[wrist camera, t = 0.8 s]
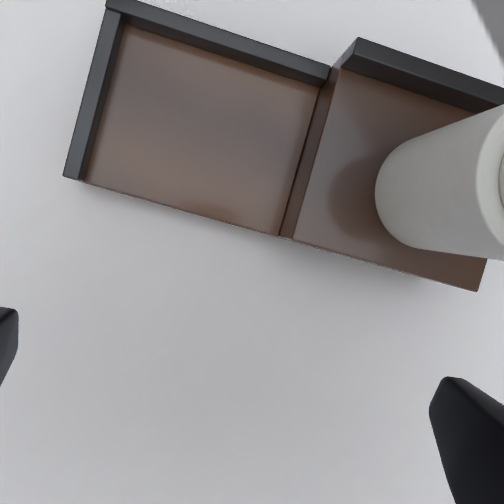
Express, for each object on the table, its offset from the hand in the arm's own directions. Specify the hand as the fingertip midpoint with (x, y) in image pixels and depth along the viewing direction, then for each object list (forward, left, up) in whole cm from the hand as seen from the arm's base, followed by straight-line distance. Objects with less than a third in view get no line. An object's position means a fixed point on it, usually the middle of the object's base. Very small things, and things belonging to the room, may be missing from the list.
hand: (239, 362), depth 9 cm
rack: (+6, -4, -14) cm, 16 cm away
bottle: (+4, -9, -9) cm, 13 cm away
